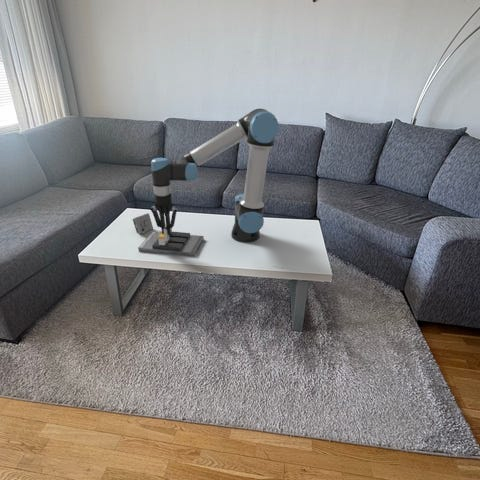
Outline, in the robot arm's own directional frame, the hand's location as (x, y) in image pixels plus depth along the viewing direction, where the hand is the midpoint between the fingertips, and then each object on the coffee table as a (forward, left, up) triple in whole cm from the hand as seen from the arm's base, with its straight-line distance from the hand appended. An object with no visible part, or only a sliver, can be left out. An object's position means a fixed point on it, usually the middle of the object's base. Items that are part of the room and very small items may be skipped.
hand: (167, 240), depth 159 cm
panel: (0, -6, -6) cm, 9 cm away
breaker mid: (+4, -6, -2) cm, 8 cm away
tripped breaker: (+2, 0, -2) cm, 3 cm away
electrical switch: (+21, -19, -6) cm, 29 cm away
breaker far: (+4, -12, -2) cm, 13 cm away
